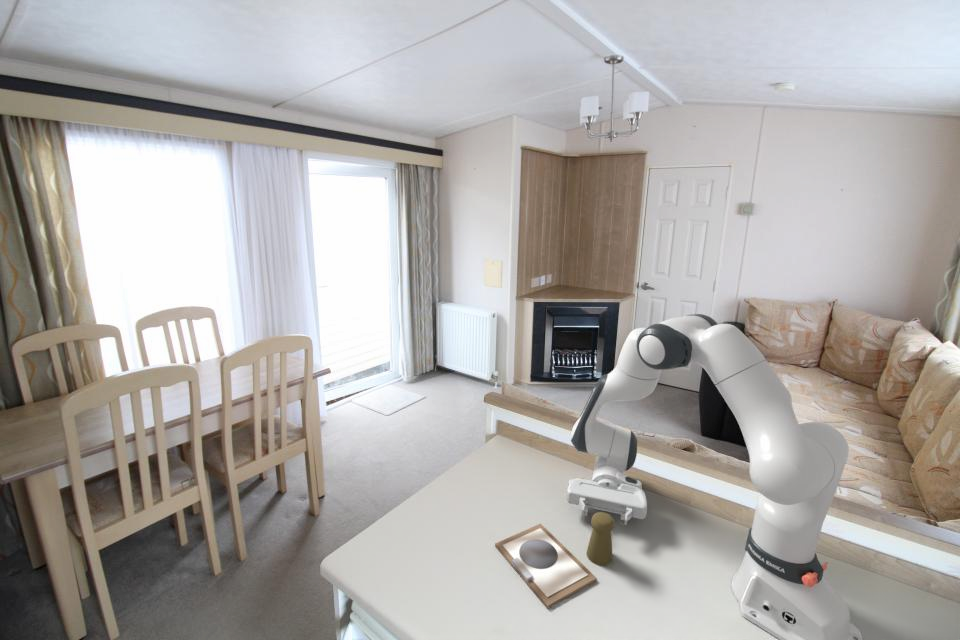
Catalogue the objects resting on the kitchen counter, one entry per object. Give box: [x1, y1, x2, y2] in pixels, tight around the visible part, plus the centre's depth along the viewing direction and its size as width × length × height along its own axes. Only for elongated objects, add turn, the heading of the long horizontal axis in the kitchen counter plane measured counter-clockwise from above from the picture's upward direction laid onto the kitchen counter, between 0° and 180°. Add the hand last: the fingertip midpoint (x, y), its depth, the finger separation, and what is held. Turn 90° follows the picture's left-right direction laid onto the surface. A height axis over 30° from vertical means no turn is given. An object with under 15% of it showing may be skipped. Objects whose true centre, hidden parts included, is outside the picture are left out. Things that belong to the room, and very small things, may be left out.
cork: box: [586, 511, 615, 567], centre depth 106 cm, size 6×6×11 cm
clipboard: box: [494, 523, 598, 609], centre depth 105 cm, size 20×14×2 cm
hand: (603, 517), depth 112 cm, fingers open, 8 cm apart
